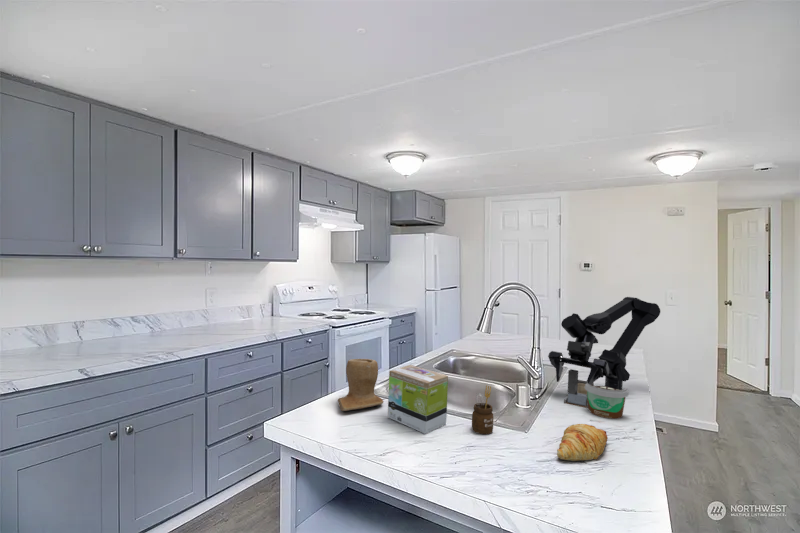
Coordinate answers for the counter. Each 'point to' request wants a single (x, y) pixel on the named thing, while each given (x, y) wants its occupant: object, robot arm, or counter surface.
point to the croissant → (582, 443)
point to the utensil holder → (483, 416)
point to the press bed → (577, 404)
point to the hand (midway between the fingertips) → (571, 384)
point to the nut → (582, 389)
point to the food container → (606, 401)
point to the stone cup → (360, 385)
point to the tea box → (418, 398)
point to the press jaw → (575, 389)
